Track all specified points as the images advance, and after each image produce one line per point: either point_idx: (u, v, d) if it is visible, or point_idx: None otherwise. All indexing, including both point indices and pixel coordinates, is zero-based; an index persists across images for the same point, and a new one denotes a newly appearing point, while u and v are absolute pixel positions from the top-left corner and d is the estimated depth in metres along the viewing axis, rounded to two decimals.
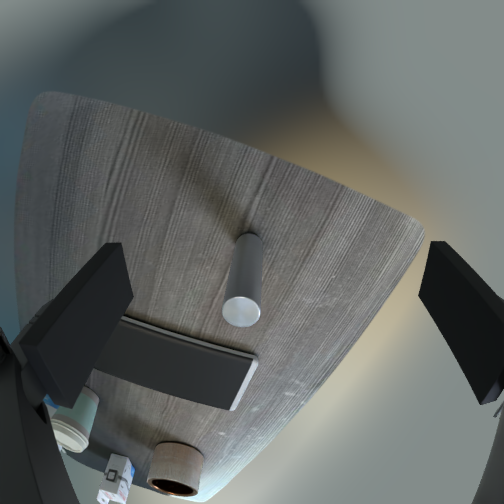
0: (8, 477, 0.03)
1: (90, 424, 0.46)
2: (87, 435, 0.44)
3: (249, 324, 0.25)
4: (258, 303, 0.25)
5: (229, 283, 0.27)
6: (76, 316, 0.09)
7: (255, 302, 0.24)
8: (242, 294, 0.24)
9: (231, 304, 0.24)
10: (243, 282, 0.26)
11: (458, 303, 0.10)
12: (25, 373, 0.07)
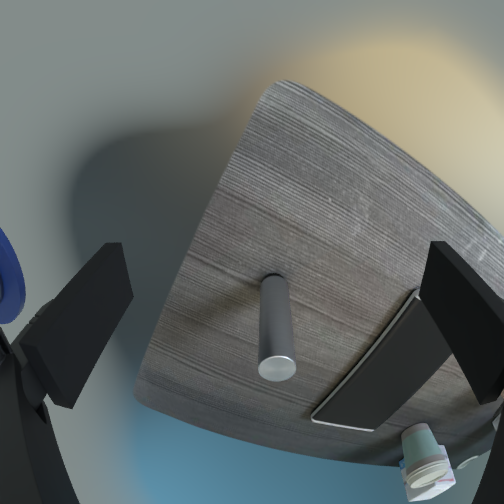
0: (8, 477, 0.03)
1: (432, 447, 0.43)
2: (437, 457, 0.40)
3: (293, 365, 0.24)
4: (270, 354, 0.24)
5: None
6: (76, 316, 0.09)
7: (266, 358, 0.23)
8: (258, 364, 0.24)
9: (266, 374, 0.24)
10: None
11: (458, 303, 0.10)
12: (25, 373, 0.07)
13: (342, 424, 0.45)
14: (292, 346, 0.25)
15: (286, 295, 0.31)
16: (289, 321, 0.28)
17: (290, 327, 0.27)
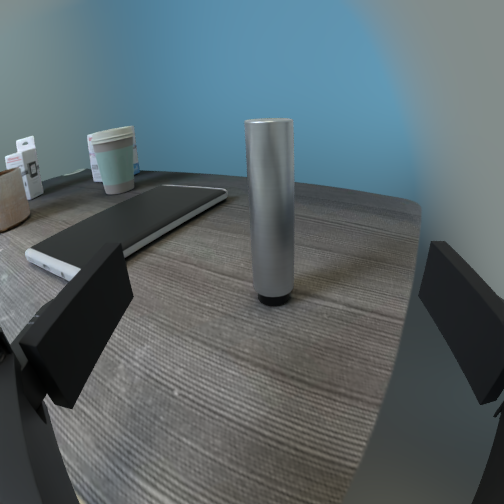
0: (8, 477, 0.03)
1: (103, 161, 0.52)
2: (100, 148, 0.51)
3: (248, 120, 0.18)
4: (278, 126, 0.18)
5: None
6: (76, 316, 0.09)
7: (283, 120, 0.18)
8: (292, 123, 0.18)
9: (281, 118, 0.19)
10: (293, 151, 0.19)
11: (458, 303, 0.10)
12: (25, 373, 0.07)
13: (193, 187, 0.48)
14: (249, 150, 0.19)
15: (256, 256, 0.22)
16: (252, 199, 0.20)
17: (251, 187, 0.20)
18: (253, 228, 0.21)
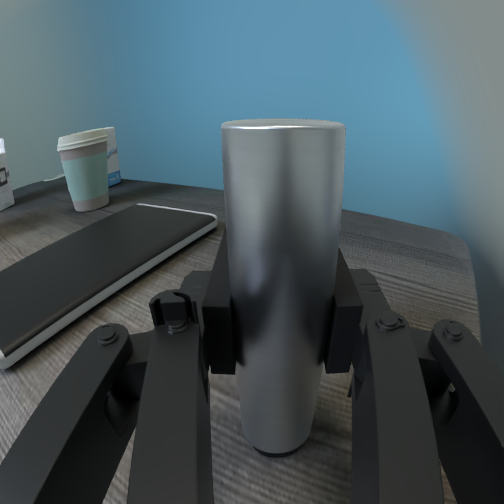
0: (160, 462, 0.05)
1: (70, 172, 0.41)
2: (66, 156, 0.40)
3: (230, 123, 0.07)
4: (311, 141, 0.06)
5: None
6: None
7: (325, 126, 0.06)
8: None
9: (314, 120, 0.08)
10: (341, 204, 0.08)
11: None
12: (204, 339, 0.09)
13: (173, 210, 0.37)
14: (230, 201, 0.07)
15: (247, 403, 0.10)
16: (239, 314, 0.09)
17: (236, 289, 0.08)
18: (241, 362, 0.10)
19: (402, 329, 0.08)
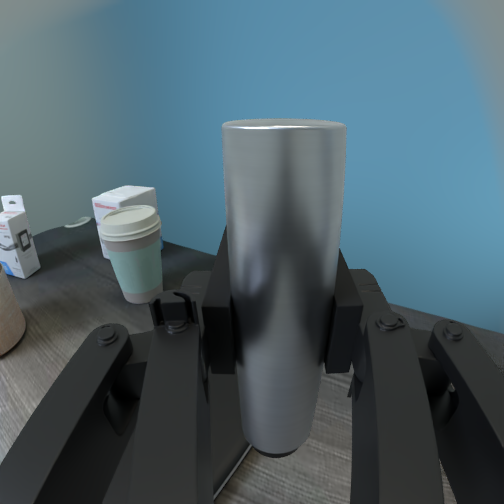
0: (160, 462, 0.05)
1: (119, 264, 0.39)
2: (114, 247, 0.37)
3: (231, 123, 0.07)
4: (312, 141, 0.06)
5: None
6: None
7: (326, 127, 0.06)
8: None
9: (315, 120, 0.08)
10: (342, 204, 0.08)
11: None
12: (204, 339, 0.09)
13: None
14: (231, 201, 0.07)
15: (247, 404, 0.10)
16: (240, 314, 0.09)
17: (237, 289, 0.08)
18: (241, 363, 0.10)
19: (402, 329, 0.08)
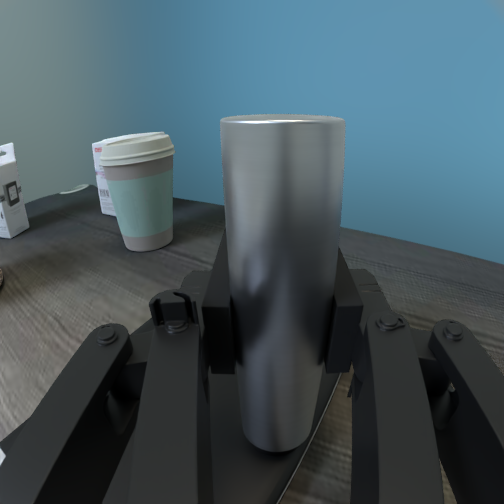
0: (160, 462, 0.05)
1: (122, 197, 0.31)
2: (116, 174, 0.30)
3: (229, 118, 0.07)
4: (311, 135, 0.06)
5: None
6: None
7: (325, 121, 0.06)
8: None
9: (314, 115, 0.08)
10: (341, 199, 0.08)
11: None
12: (204, 339, 0.09)
13: None
14: (230, 196, 0.07)
15: (247, 401, 0.10)
16: (239, 310, 0.09)
17: (236, 285, 0.08)
18: (241, 360, 0.10)
19: (402, 329, 0.08)
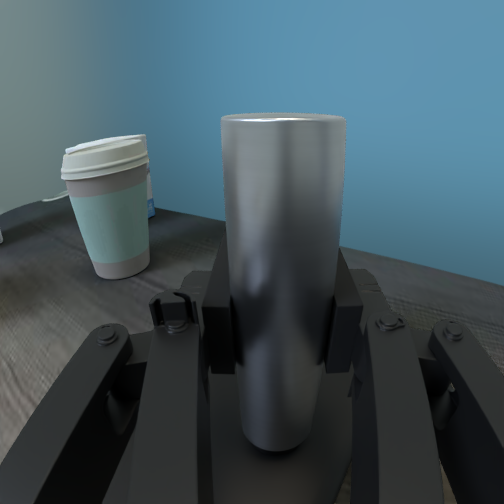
0: (160, 462, 0.05)
1: (85, 216, 0.25)
2: (77, 189, 0.24)
3: (230, 116, 0.07)
4: (311, 133, 0.06)
5: None
6: None
7: (326, 120, 0.06)
8: (345, 127, 0.07)
9: (314, 114, 0.08)
10: None
11: None
12: (204, 339, 0.09)
13: None
14: (230, 194, 0.07)
15: (246, 400, 0.10)
16: (239, 309, 0.09)
17: (236, 284, 0.08)
18: (240, 359, 0.10)
19: (402, 329, 0.08)
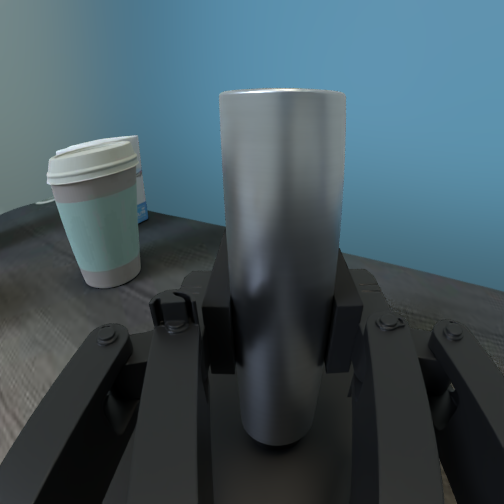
0: (161, 462, 0.05)
1: (72, 223, 0.23)
2: (63, 195, 0.22)
3: (228, 91, 0.07)
4: (311, 104, 0.06)
5: None
6: None
7: (325, 91, 0.06)
8: None
9: None
10: (343, 174, 0.08)
11: None
12: (204, 339, 0.09)
13: None
14: (229, 169, 0.07)
15: (246, 391, 0.10)
16: (238, 291, 0.08)
17: (235, 264, 0.08)
18: (240, 346, 0.09)
19: (402, 329, 0.08)
